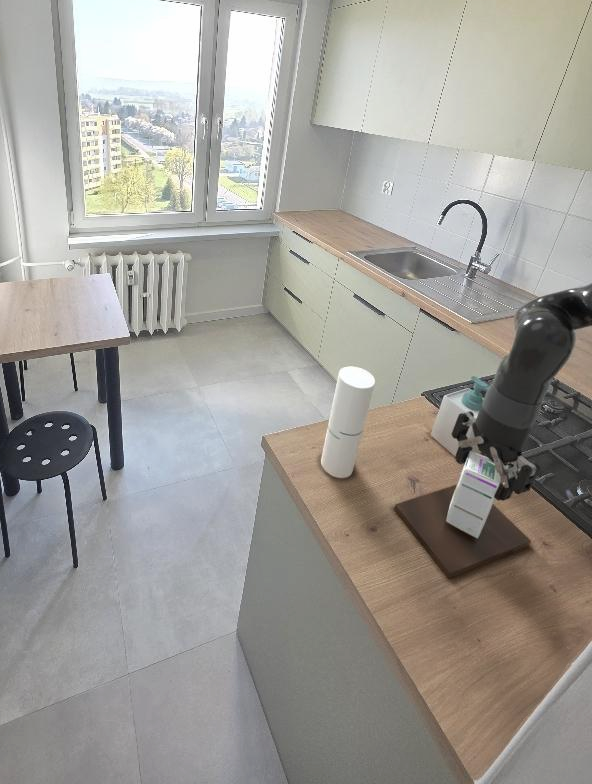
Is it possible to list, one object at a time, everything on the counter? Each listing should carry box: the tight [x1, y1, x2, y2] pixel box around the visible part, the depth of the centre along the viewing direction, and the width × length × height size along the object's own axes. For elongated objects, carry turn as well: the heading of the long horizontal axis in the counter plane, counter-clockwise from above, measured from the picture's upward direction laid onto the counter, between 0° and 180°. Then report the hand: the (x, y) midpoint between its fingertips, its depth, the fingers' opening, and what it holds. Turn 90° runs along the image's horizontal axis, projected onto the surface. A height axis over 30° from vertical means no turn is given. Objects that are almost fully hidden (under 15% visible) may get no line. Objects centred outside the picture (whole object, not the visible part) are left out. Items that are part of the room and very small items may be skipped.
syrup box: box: [446, 451, 502, 538], centre depth 79 cm, size 6×6×14 cm
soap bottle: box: [430, 375, 490, 458], centre depth 99 cm, size 9×9×19 cm
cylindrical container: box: [320, 365, 376, 479], centre depth 91 cm, size 7×7×25 cm
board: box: [393, 484, 532, 579], centre depth 83 cm, size 20×14×2 cm
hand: (479, 479), depth 78 cm, fingers closed on syrup box, 7 cm apart
